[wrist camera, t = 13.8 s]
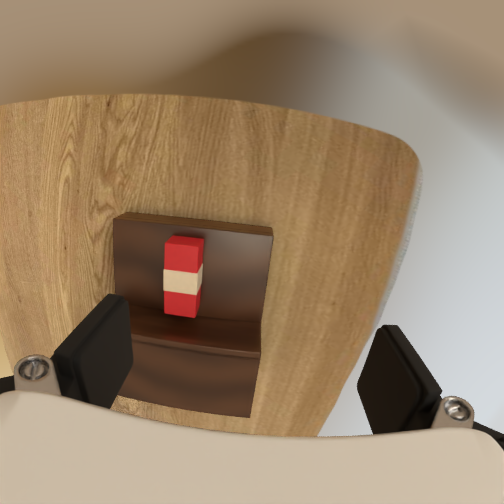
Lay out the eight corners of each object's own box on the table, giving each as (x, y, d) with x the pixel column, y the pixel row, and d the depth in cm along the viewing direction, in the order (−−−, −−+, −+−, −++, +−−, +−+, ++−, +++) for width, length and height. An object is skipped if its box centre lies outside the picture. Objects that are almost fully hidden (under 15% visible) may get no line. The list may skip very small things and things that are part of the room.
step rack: (126, 211, 36) (86, 231, 26) (272, 227, 36) (276, 253, 27) (132, 349, 42) (107, 392, 33) (251, 368, 43) (249, 418, 33)
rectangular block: (172, 234, 33) (163, 242, 30) (204, 238, 33) (199, 247, 30) (170, 301, 35) (163, 313, 32) (200, 305, 35) (195, 318, 32)
